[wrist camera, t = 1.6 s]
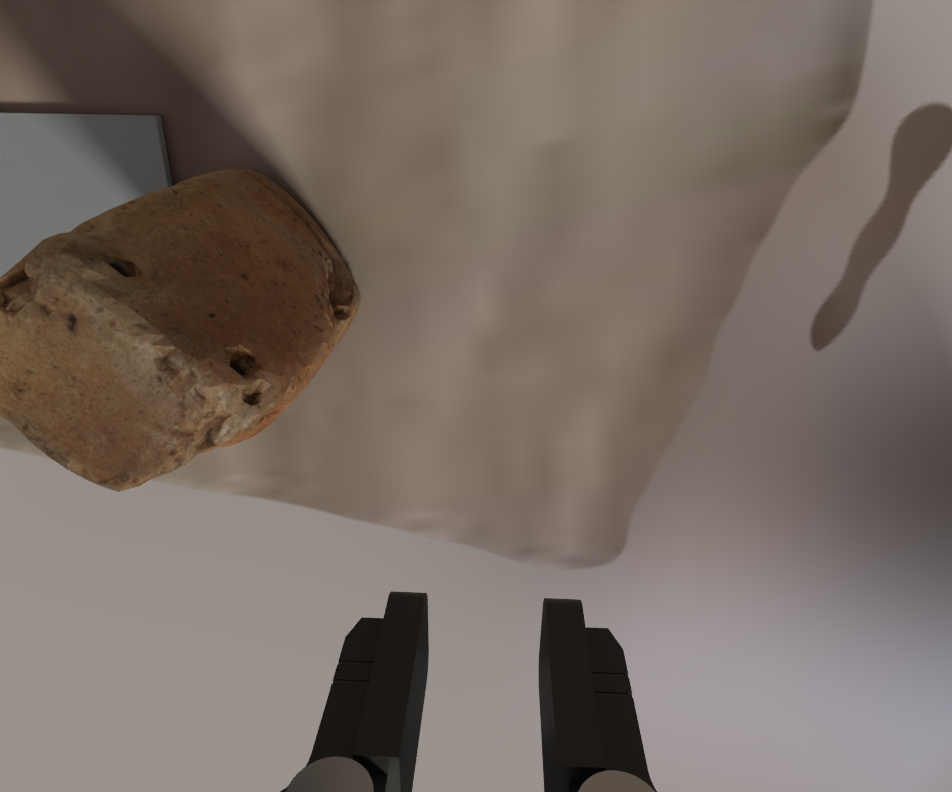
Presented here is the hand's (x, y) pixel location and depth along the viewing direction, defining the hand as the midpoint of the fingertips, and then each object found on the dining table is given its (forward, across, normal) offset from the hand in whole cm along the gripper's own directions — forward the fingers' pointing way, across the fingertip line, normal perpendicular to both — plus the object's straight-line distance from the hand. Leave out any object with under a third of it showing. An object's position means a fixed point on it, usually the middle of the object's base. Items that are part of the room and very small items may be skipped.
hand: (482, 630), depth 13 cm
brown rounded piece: (+29, +13, 0) cm, 32 cm away
